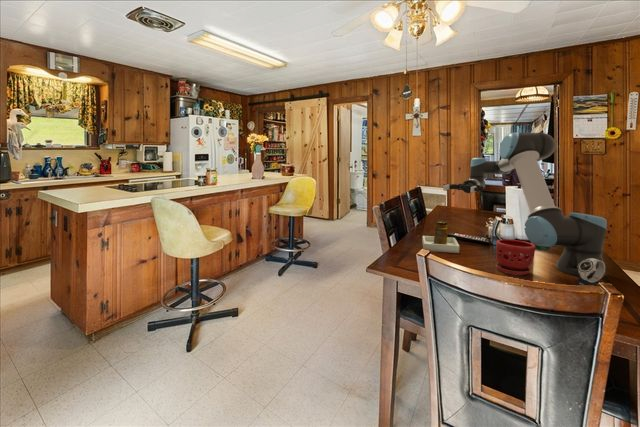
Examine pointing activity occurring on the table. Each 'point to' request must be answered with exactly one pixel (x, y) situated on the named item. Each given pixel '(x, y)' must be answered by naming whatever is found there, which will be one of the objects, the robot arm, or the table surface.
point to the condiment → (440, 233)
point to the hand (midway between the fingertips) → (457, 188)
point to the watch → (590, 271)
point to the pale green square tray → (440, 245)
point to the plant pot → (514, 256)
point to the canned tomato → (541, 248)
